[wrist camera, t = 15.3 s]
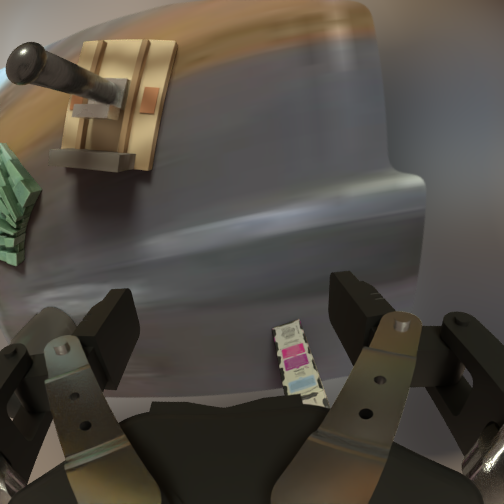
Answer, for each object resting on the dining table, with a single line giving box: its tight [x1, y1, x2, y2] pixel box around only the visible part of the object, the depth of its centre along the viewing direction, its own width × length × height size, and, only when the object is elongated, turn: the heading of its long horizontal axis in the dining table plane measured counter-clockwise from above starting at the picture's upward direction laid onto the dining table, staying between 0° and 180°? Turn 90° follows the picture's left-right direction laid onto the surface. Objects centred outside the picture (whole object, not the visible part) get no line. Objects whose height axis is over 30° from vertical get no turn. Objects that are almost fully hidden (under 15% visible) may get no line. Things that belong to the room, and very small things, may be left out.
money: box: [0, 143, 42, 266], centre depth 36 cm, size 20×16×5 cm
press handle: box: [6, 42, 131, 121], centre depth 23 cm, size 6×5×21 cm
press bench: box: [48, 39, 178, 172], centre depth 31 cm, size 18×14×8 cm
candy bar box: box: [272, 319, 330, 408], centre depth 41 cm, size 11×5×16 cm, turn 20°
